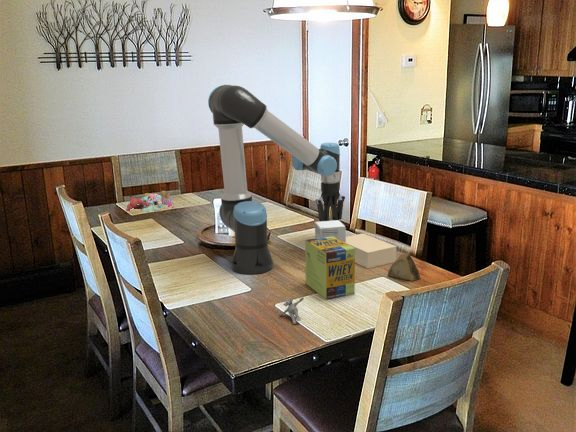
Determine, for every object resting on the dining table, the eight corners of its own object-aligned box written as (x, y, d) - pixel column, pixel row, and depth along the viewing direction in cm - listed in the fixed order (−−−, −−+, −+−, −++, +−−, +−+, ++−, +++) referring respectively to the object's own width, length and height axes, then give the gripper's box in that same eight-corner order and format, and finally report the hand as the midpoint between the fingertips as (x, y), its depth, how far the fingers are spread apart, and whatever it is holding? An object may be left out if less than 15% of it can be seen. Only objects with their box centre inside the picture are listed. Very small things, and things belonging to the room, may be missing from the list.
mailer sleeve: (395, 261, 206) (396, 246, 204) (367, 268, 200) (367, 252, 198) (363, 247, 223) (363, 233, 221) (336, 253, 217) (336, 238, 215)
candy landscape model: (131, 205, 303) (130, 189, 301) (175, 203, 306) (174, 187, 303) (123, 217, 279) (122, 199, 277) (171, 215, 282) (170, 197, 279)
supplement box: (346, 272, 197) (346, 226, 192) (320, 274, 195) (320, 228, 191) (339, 263, 206) (339, 219, 201) (315, 265, 204) (314, 221, 200)
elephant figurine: (278, 326, 157) (272, 306, 164) (290, 335, 160) (283, 315, 167) (303, 308, 155) (296, 288, 162) (314, 316, 158) (307, 297, 165)
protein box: (326, 300, 174) (326, 252, 170) (305, 283, 188) (304, 239, 184) (355, 294, 178) (355, 247, 174) (332, 278, 192) (332, 235, 188)
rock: (379, 270, 192) (397, 275, 183) (389, 249, 193) (408, 253, 185) (399, 283, 196) (418, 288, 188) (408, 262, 198) (427, 266, 190)
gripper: (319, 185, 218) (320, 242, 224) (351, 180, 225) (350, 236, 231) (309, 182, 224) (310, 238, 230) (340, 177, 231) (340, 232, 237)
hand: (330, 237), depth 231 cm, fingers closed on mailer tray, 2 cm apart
